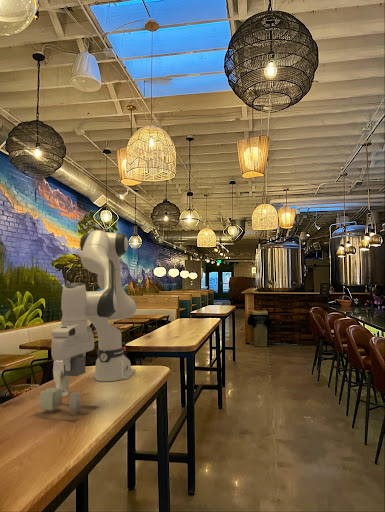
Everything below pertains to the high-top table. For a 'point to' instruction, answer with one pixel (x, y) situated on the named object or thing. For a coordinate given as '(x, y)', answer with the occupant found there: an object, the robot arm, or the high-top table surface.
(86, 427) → the high-top table surface
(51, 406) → the pale green block
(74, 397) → the steel post
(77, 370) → the dark grey paneled cube
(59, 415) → the walnut board
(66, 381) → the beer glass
